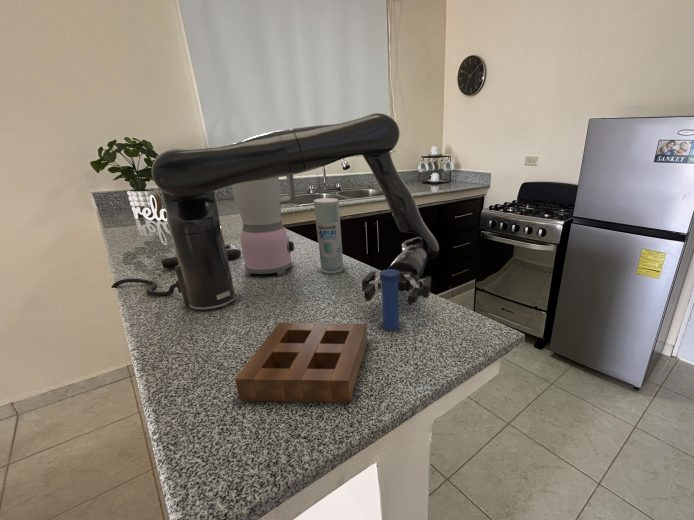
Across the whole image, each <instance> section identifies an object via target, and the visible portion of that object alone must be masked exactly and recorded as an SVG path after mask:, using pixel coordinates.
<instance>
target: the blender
mask: <svg viewBox="0 0 694 520" xmlns="http://www.w3.org/2000/svg"><path fill="white" fill-rule="evenodd" d="M285 177H286V184H287V193H288V196H286V197H282V192H281V184H280V177H277V178H271V179H265V180H257V181H248V182H242V183H238V184H234V185H231V188H232V193H233V199H234V202H235V204H236V207H237V210H238V213H239V216H240V218H241V222H242V230H241V232H240V245H241V252H242V255H243V261H244V269H245V272H246V275H247V276H252V274H257V275H265V274H266V275H267V274H274V273H276V276H283V275H285V274H286V270H287V269H289V268H291V267H292V265H293V260H292V254H291V252H294V251H295V244H294V241H291V240H290V238H289V237H290V236H289V233H288V232H287V230H286V227H285V226H284V224H283V222H282V205H287V204H292V203H293V202H295V200H296V188H295V186H296V185H295V180H294V174H293V175H289V176H285Z"/></svg>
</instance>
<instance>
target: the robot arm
mask: <svg viewBox="0 0 694 520" xmlns="http://www.w3.org/2000/svg"><path fill="white" fill-rule="evenodd" d="M400 133H401V131H400V128H399V124H398V123H397V121H395V119H394V118H392V117H391V116H390V115H387V114H385V113H380V112H375V113H370V114H368V115H366V116H362V117H359V118H356V119H353V120H352V119H351V120H348V121H345V122H340V123H335V124H322V125H321V124H320V125H312V126H302V127H294V128H288V129H287V128H286V129H282V130H275V131H271V132H267V133H263V134H260V135H256V136H253V137H249V138H247V139H244V140H241V141H239V142H235V143H232V144H228V145H224V146H218V147H216V146H215V147H206V148H193V149H187V148H181V147H180V148H178V147H177V148H176V147H175V148H170V149H168V150H167V149H166V150H165V151H163V152H161V153H159V154H158V156H156V158H155V159H154V161H153V163H152V166H151V177H152V180H153V182H154V184H155V185H156V186H157V187H158V189H160V191H161V194H162V198H163V202H164V207H165V213H166V214H165V215H166V223H167V226H168V229H169V233H170V236H171V240H172V244H173V247H174V251H175V252H174V253H175V255H176V256H175V257H177V259H178V263H179V265H177V266H176V267H175V268H174V270H175V273H176V277H177V280H175V282H174V283H172V284H170V286H169V288H168V290H165V291H156V290H155V289H156V288H157V286H158V284H157V282H155V281H153V280H150V279H149V280H148V279H144V278H123V279H120V280H117V281H115V282H114V283H112V285H111V289H115V288H117V287H119V286H120V285H122V284H128V283H138V284H146V285H150V286H149V287H147V289H146V293H147V294H148V295H149V296H155V297H166V296H170V295H172V294H173V293H174V292H175V289H176V288H177V291H178V293H179V294H181V296H182V299H183V304H184V307H185V308H190V309H192V310H195V311H211V310H216V309H220V308H223V307H226V306H229V305H230V304H232V303H234V301H236V299H237V294H236V290H235V287H234V282H233V277H232V271H231V267H230V262H229V259H228V257H227V252H226V248H225V245H226V243H225V239H224V234H223V229H222V224H221V220H220V214H219V207H218V204H217V199H216V194H215V191H217V190H220V189H224V188H227V187H232V185H234V184H238V183H242V182H248V181H257V180H265V179H271V178H277V177H279V178H282V177H286V176H289V175H293V176H294V175H298V174H302V173H305V172H310V171H313V170H316V169H319V168H323V167H325V166H328V165H331V164H334V163H336V162H338V161H341V160H345V159H347V158H351V157H355V156H356V157H357V156H362V157H363V159H364V160H365V162H366V163H367V165H368V167H369V168H370V171H371V173H372V174H373V176H374V177H375V180H376V181H377V183H378V185H379V187H380V190H381V192H382V193H383V196H384V198H385V200H386V203H387V205H388V208H389V211H390V212H391V215H392V218H393V220H394V222H395V225H396V227H397V229H398V231H399V232H400V233H401V234H415V235H417V236H416V237H413V238H410V239H407V240H404V242H402V243H401V247H400V251H401V253H400V254H398V255H397V256H396V258H395V259H394V260H393V261H392V263H391V264H389V266H388V268H387V269H395V270H398V271H399V272H400V279H399V280H398V292H404V293H406V294H407V305H408V306H412V305H413V304H415V303H417V301H418V299H419V298H421V297H423V298H424V299H428V298H429V297H430V292H431V290H432V289H431V288H432V276H430V275H426V276H425V277H423V278H422V276H423V275H424V271H425V268H426V266H427V264H428V261H431V260H434V259H435V258H437V257H438V256H439V253H440V245H439V243H438V239H436V237H435V235H434V234H433V233H432V232H431V231H430V229H429V228H428V226H427V225H426V223H425V221H424V220H423V218H422V216H421V213H420V211H419V208H418V205H417V203H416V200H415V198H414V196H413V194H412V192H411V191H410V189H409V187H408V186H407V184H406V182H405V181H404V180H403V178H402V177H401V175H400V174H399V172H398V170H397V168H396V166H395V164H394V161H393V158H392V155H391V151H392V150H394V149H395V147H396V146H397V144H398V142H399V140H400V136H401V135H400ZM376 285H377V287H376ZM361 288H362V292H363V295H364V296H363V297H364V299H365V301H366V302H370V301H372V299H373V298H374V297H375V295H376V294H378V293H381V294H382V280H381V279H380V274H378V275H377V272H376V271H370V272H369V273H368V274H367V275H366V276H365V277H363V279H362V280H361Z"/></svg>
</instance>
